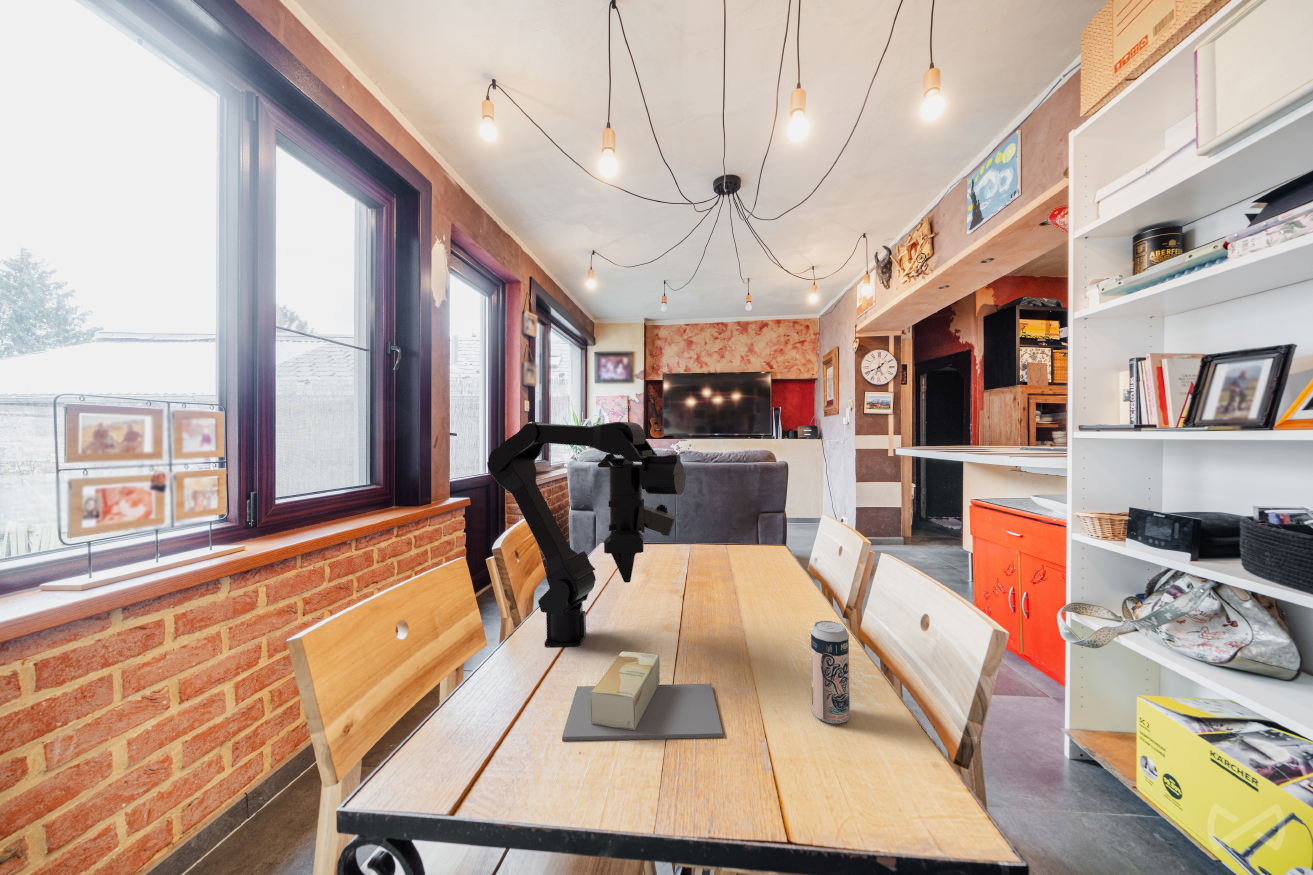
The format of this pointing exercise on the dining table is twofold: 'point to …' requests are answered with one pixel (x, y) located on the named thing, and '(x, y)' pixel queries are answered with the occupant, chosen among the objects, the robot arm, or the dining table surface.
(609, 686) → the skincare box
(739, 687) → the dining table surface
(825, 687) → the beer can
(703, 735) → the mat
